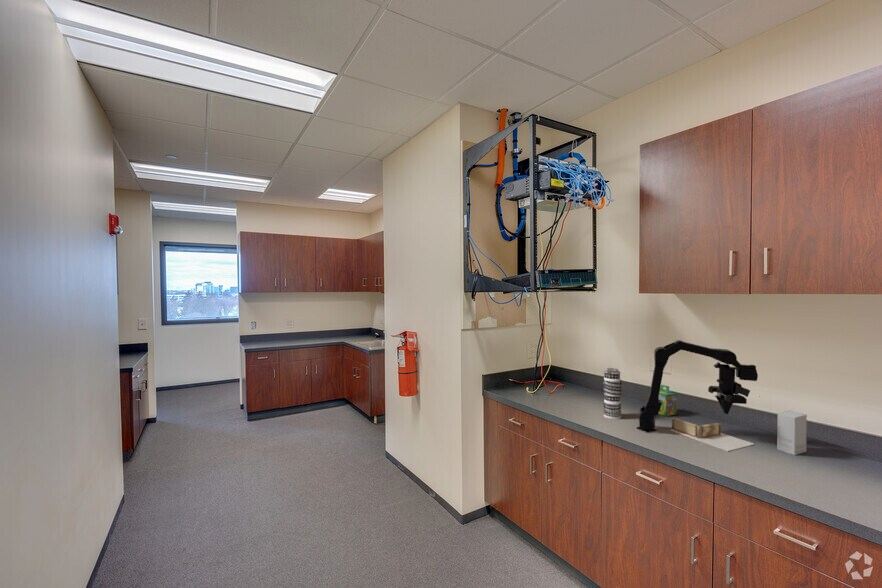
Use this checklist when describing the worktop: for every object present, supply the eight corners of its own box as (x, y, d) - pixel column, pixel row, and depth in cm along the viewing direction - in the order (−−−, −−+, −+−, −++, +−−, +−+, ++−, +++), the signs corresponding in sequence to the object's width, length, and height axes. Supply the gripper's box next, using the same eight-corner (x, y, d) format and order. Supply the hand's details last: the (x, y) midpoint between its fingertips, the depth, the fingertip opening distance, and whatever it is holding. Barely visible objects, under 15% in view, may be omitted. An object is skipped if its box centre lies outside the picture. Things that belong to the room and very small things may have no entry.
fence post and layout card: (728, 451, 160) (728, 437, 160) (668, 429, 186) (668, 417, 185) (754, 444, 167) (754, 431, 167) (693, 424, 192) (693, 413, 192)
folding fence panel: (703, 437, 174) (703, 426, 174) (700, 436, 176) (699, 425, 176) (721, 434, 178) (721, 423, 178) (717, 432, 179) (717, 422, 179)
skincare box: (788, 446, 165) (789, 409, 165) (808, 452, 159) (808, 414, 158) (776, 449, 162) (776, 412, 162) (795, 455, 156) (795, 417, 155)
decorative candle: (625, 418, 202) (625, 370, 201) (609, 419, 200) (609, 371, 200) (615, 413, 211) (615, 366, 210) (599, 414, 209) (599, 367, 209)
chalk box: (650, 412, 212) (650, 384, 212) (661, 409, 216) (661, 382, 216) (666, 417, 204) (666, 388, 203) (677, 414, 207) (677, 386, 207)
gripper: (761, 384, 162) (760, 422, 162) (734, 374, 180) (733, 408, 181) (731, 383, 163) (730, 420, 164) (707, 373, 182) (707, 406, 182)
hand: (726, 413), depth 173 cm, fingers closed
